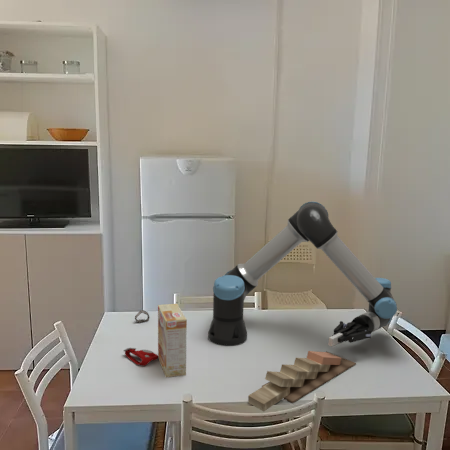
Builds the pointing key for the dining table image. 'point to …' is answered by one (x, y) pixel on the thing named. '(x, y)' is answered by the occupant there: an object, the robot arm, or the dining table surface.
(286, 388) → the maple tile
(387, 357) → the dining table surface
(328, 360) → the terracotta tile
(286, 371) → the maple tile
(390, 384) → the dining table surface
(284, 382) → the maple tile
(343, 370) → the board
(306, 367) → the maple tile
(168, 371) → the coffeecake box
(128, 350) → the tracker holder
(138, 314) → the wristwatch
